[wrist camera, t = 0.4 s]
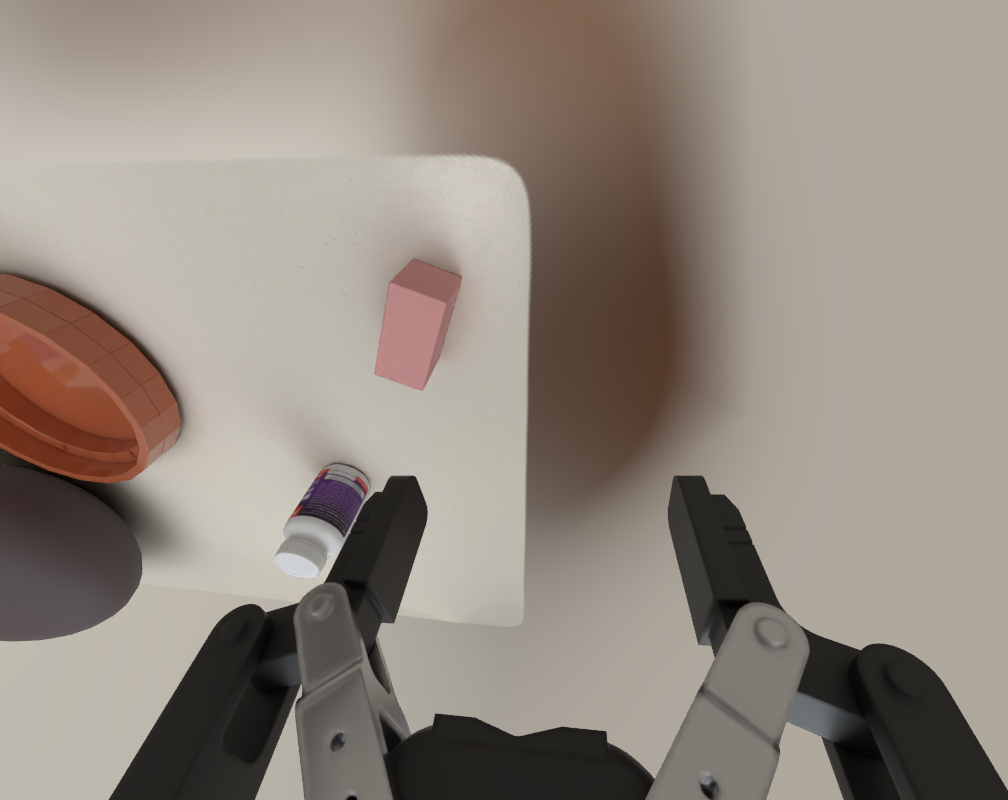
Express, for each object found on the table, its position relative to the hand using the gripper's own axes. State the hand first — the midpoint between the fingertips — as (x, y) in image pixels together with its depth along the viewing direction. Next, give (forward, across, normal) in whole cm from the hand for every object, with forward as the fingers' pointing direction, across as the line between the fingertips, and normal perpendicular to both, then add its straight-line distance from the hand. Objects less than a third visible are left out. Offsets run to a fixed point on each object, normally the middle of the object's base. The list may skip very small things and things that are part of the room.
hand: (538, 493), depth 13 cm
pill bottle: (+18, +23, +19) cm, 35 cm away
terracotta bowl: (+18, +44, +5) cm, 48 cm away
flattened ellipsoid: (+18, +62, +23) cm, 68 cm away
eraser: (+18, +9, +1) cm, 20 cm away
